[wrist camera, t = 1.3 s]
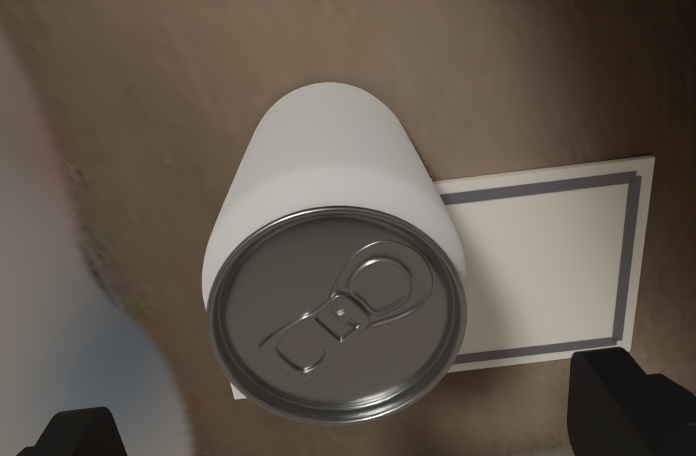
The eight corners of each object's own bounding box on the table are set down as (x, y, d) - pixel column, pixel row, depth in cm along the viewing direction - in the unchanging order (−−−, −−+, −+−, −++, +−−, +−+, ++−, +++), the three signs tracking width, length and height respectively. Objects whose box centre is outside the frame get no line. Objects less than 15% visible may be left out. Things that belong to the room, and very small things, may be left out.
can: (439, 163, 23) (545, 332, 12) (325, 257, 25) (329, 481, 14) (334, 43, 21) (349, 116, 10) (217, 155, 22) (119, 324, 12)
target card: (416, 183, 23) (417, 186, 23) (651, 155, 23) (655, 157, 23) (428, 370, 27) (429, 375, 27) (627, 347, 27) (630, 351, 27)
